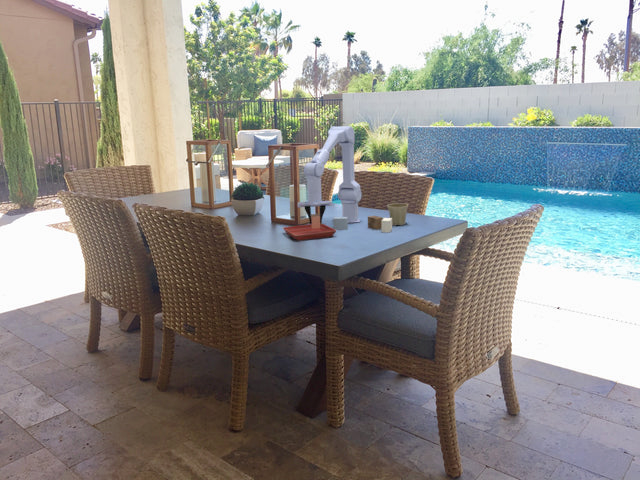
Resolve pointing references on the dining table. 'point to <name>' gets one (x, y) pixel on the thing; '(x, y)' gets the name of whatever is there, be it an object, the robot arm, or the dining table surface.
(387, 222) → the cream brick
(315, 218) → the terracotta brick
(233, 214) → the dining table surface
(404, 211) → the flower pot
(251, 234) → the dining table surface
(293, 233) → the plant saucer
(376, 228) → the walnut brick
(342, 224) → the slate-blue brick
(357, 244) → the dining table surface
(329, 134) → the robot arm
